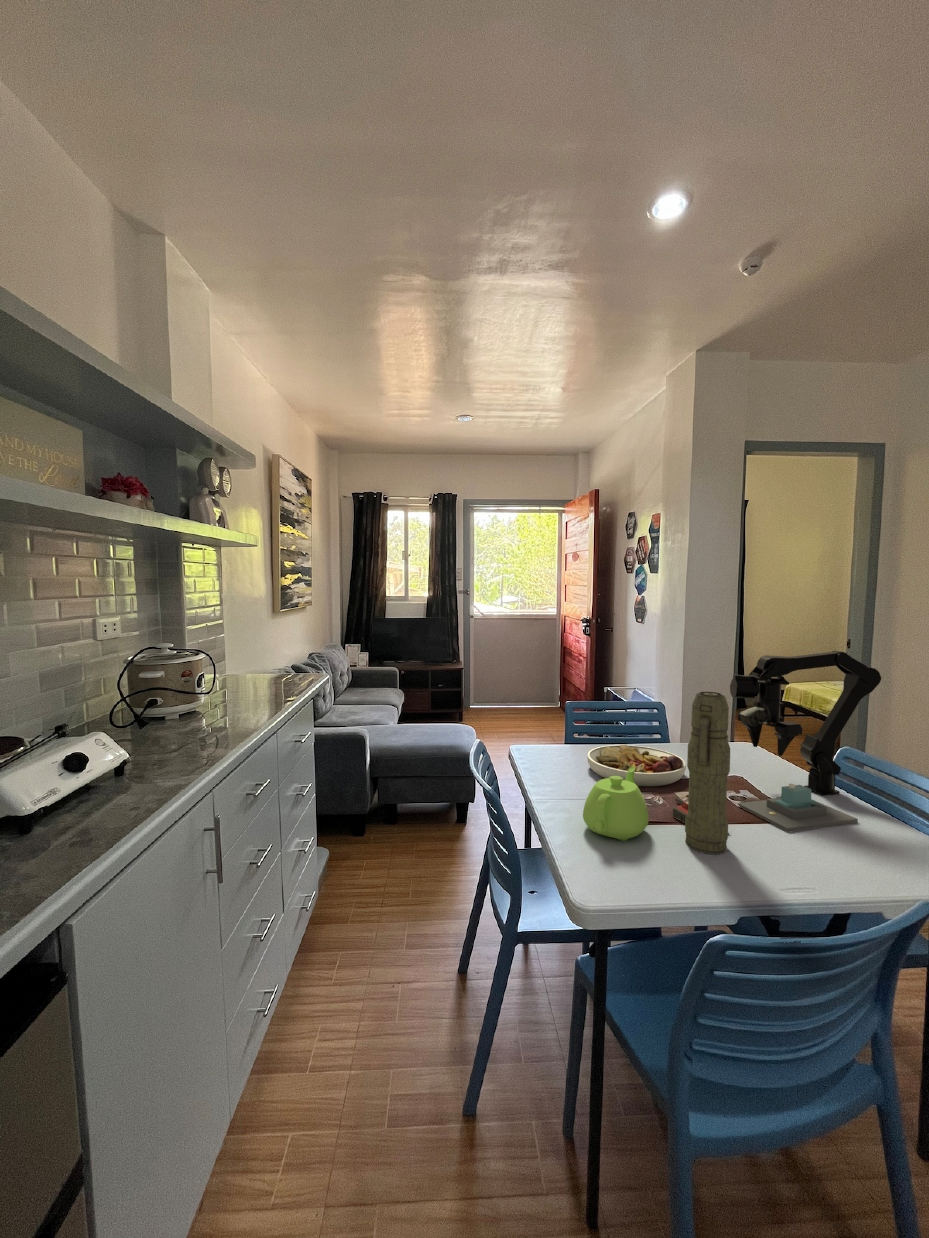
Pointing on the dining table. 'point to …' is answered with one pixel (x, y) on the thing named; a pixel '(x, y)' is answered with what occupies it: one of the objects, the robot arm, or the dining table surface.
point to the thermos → (708, 774)
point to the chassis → (797, 815)
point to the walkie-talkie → (680, 810)
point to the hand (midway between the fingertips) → (767, 751)
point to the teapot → (616, 808)
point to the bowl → (637, 764)
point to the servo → (795, 797)
